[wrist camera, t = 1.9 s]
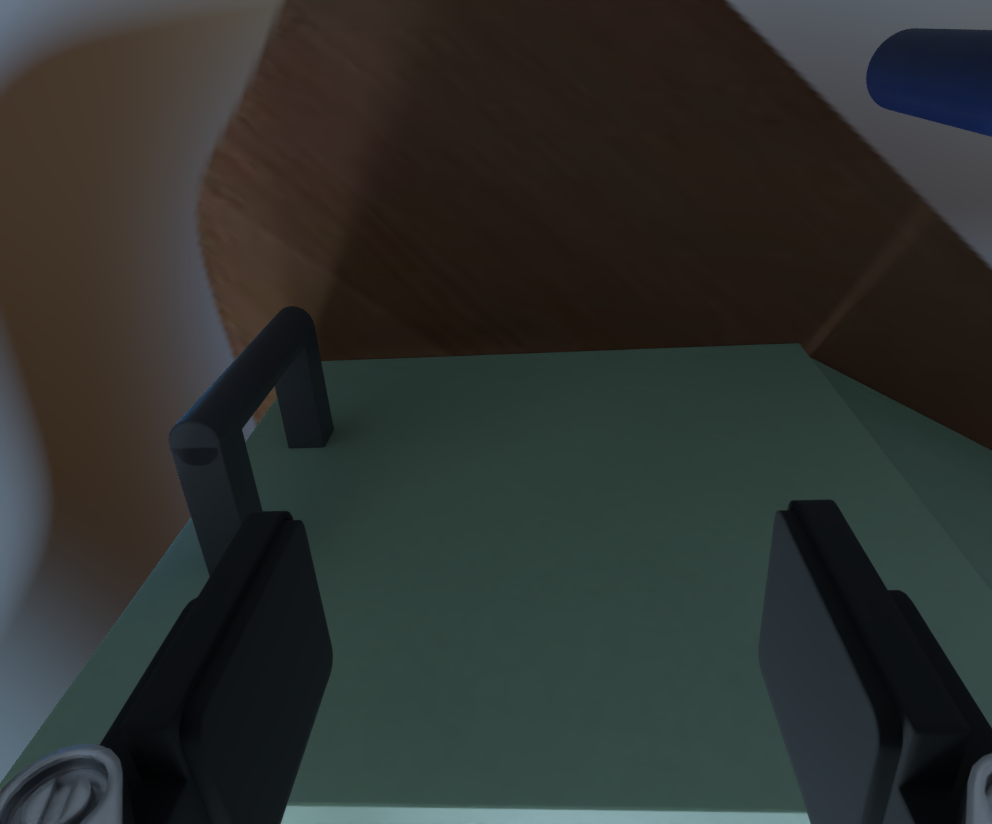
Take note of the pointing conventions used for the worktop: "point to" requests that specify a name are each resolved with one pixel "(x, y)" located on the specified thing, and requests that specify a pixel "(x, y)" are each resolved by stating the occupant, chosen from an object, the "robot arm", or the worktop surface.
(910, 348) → the worktop surface
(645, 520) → the cupboard door
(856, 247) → the worktop surface
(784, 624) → the robot arm
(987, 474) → the cupboard
